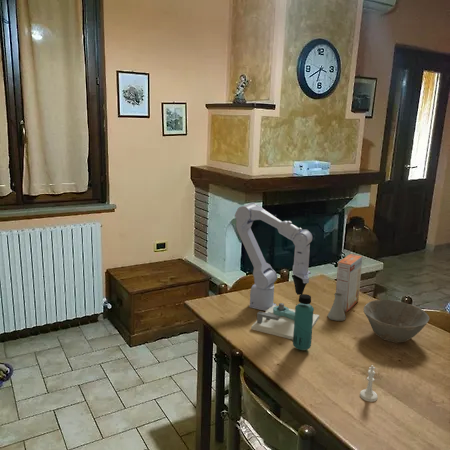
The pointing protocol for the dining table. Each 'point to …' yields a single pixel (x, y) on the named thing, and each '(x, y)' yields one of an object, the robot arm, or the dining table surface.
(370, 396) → the chess piece
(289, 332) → the board
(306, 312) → the beverage bottle
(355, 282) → the cracker box
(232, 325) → the dining table surface
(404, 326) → the ceramic bowl
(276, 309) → the link
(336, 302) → the flask
